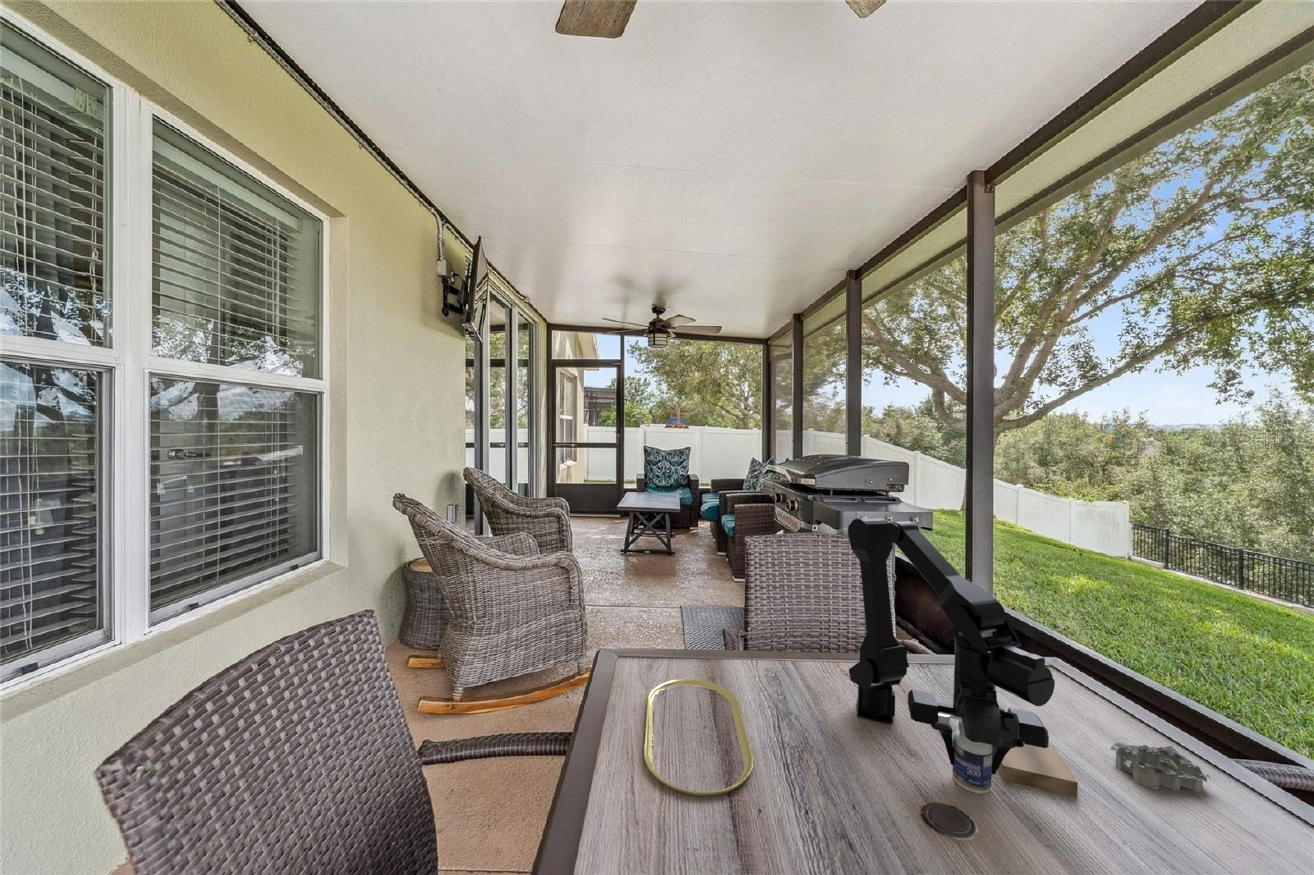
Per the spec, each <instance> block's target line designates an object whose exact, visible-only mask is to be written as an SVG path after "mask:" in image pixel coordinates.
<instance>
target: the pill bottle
mask: <svg viewBox="0 0 1314 875" xmlns="http://www.w3.org/2000/svg"><path fill="white" fill-rule="evenodd" d="M952 740H953V750H954V765H952V778H953V780H954V782H955V783H957V785H958V786H960V787H961V788H962V789H964V790H965V791H968V792H969V793H970V792H971V793H974V794H978V795H983V794H984V795H985V794H988V793H989V792H991V789H992V779H993V778H992V775H993V774H992V751H993V750H992V745H990V744H985V743H981V742H977V743H976V742H972V741H970V740H968V739H967V738H966V736H965V733H964V727H963V722H962V720H960V719H958V730H957V731H955V732H954V733H953V737H952Z"/></svg>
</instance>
